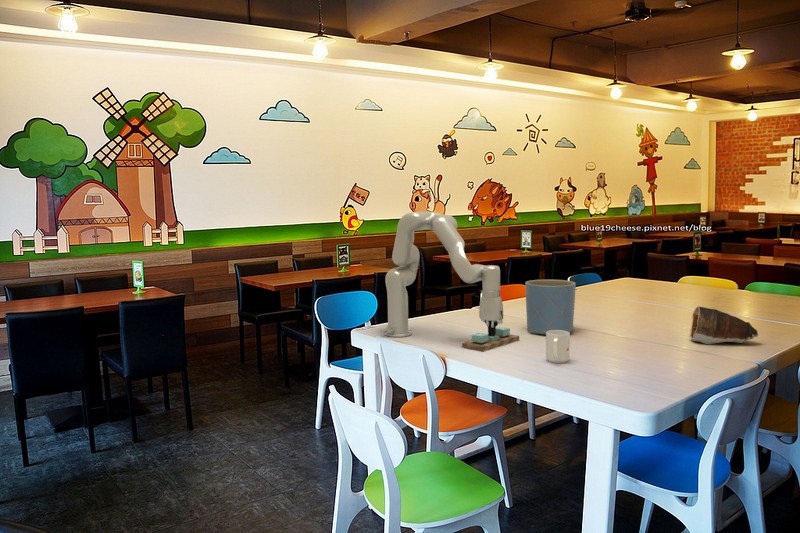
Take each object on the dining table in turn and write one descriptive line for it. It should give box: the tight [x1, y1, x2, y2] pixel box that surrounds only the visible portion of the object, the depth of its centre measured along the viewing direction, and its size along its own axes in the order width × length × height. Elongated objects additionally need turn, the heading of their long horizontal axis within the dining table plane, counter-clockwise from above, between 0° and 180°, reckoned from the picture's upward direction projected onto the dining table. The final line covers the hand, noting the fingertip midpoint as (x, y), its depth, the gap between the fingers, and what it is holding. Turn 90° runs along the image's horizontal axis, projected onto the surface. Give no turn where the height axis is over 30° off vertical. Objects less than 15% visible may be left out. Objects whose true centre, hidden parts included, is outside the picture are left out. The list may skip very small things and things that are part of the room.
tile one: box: [471, 332, 488, 343], centre depth 256 cm, size 5×5×3 cm
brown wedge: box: [689, 306, 759, 345], centre depth 256 cm, size 15×15×25 cm
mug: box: [545, 330, 571, 364], centre depth 232 cm, size 12×9×11 cm
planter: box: [524, 279, 577, 335], centre depth 282 cm, size 23×23×24 cm
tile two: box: [488, 335, 499, 342], centre depth 262 cm, size 5×5×3 cm
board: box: [461, 333, 520, 353], centre depth 262 cm, size 27×11×2 cm, turn 136°
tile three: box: [496, 326, 511, 336], centre depth 268 cm, size 5×5×3 cm
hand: (491, 335), depth 262 cm, fingers closed
